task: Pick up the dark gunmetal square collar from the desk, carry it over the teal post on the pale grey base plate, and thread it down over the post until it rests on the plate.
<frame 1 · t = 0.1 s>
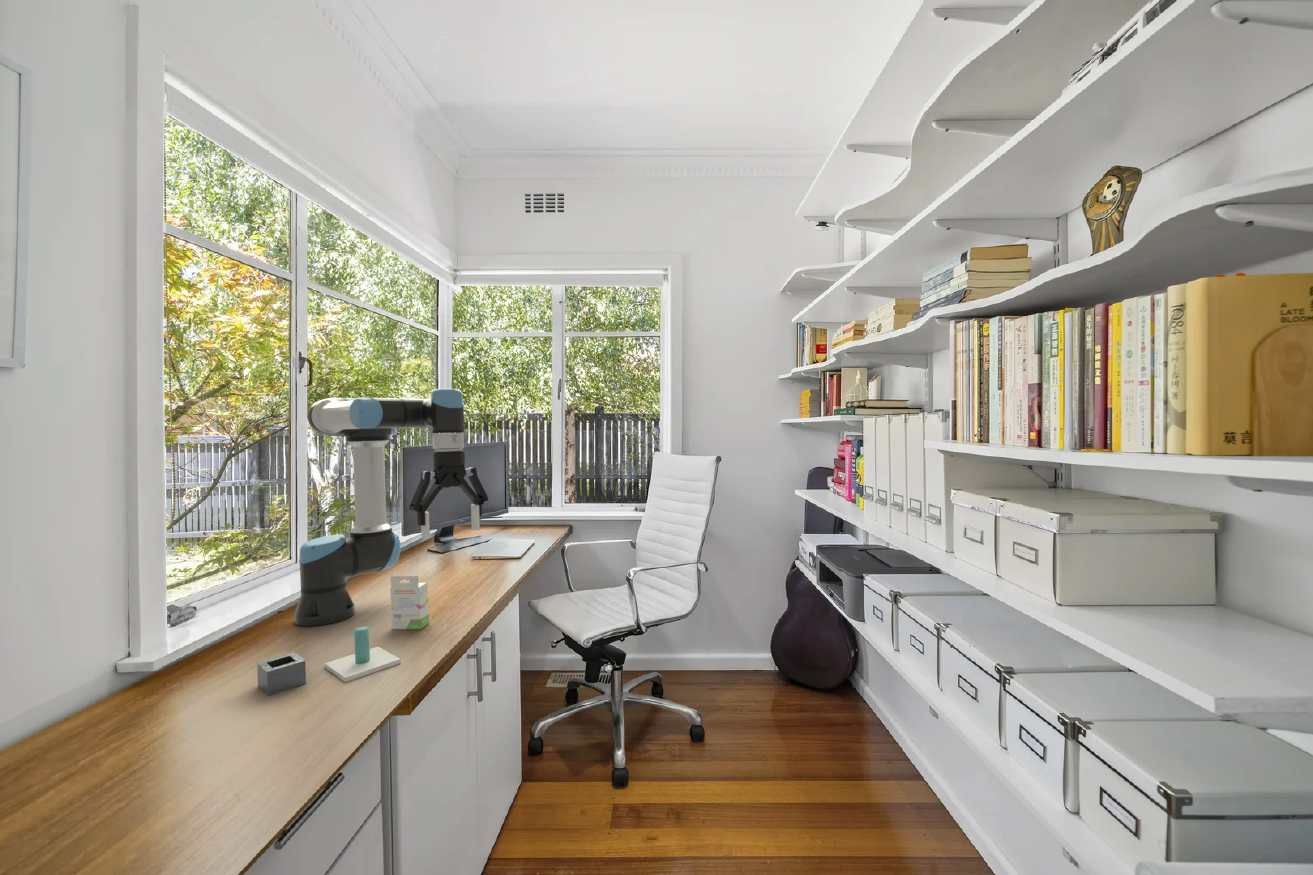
hand: (451, 533, 139), 28 cm above the table, fingers open, 13 cm apart
ink box: (410, 627, 152), on the table
collar: (282, 684, 119), on the table
post stand: (362, 665, 128), on the table
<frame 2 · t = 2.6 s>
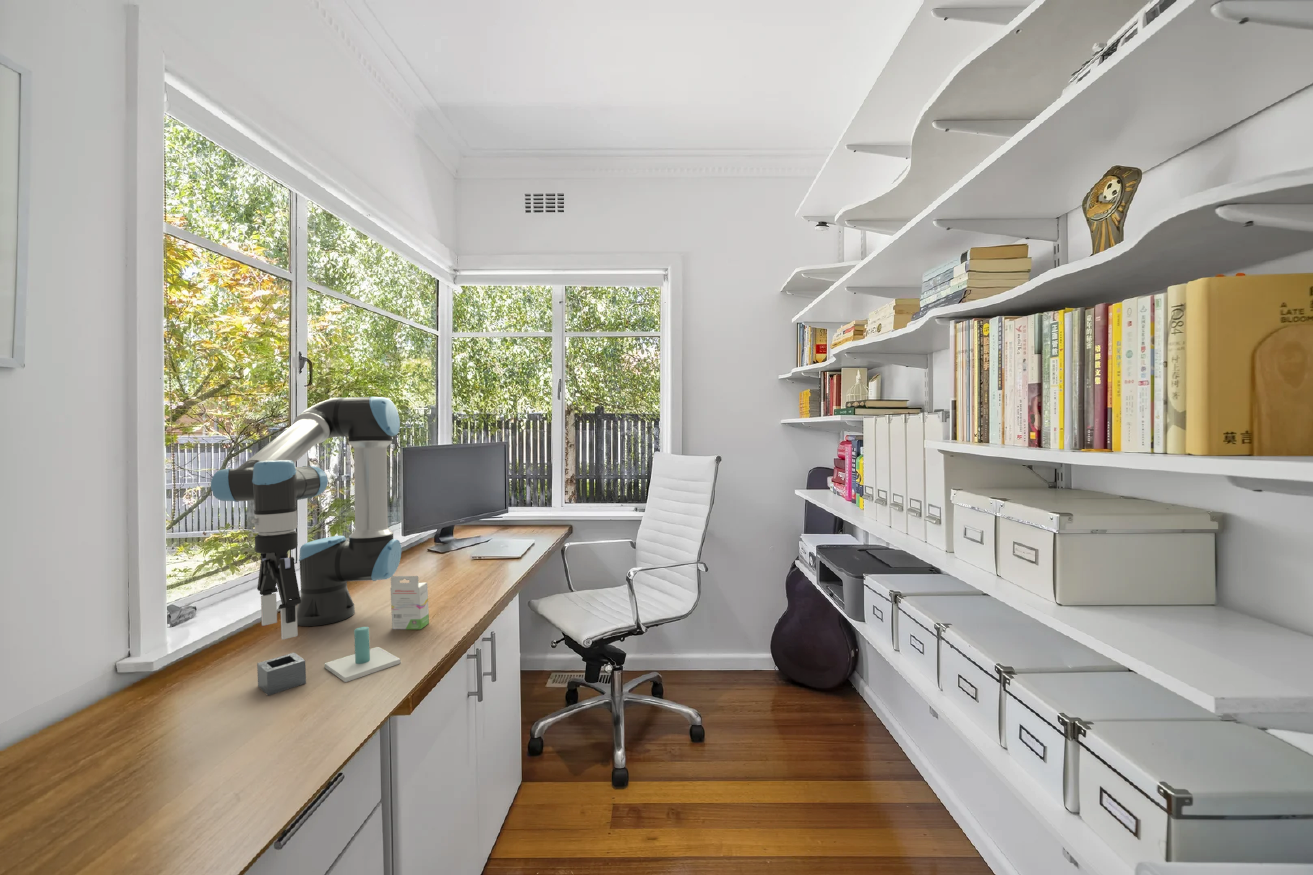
hand: (279, 630, 118), 12 cm above the table, fingers open, 13 cm apart
nothing on the table moved.
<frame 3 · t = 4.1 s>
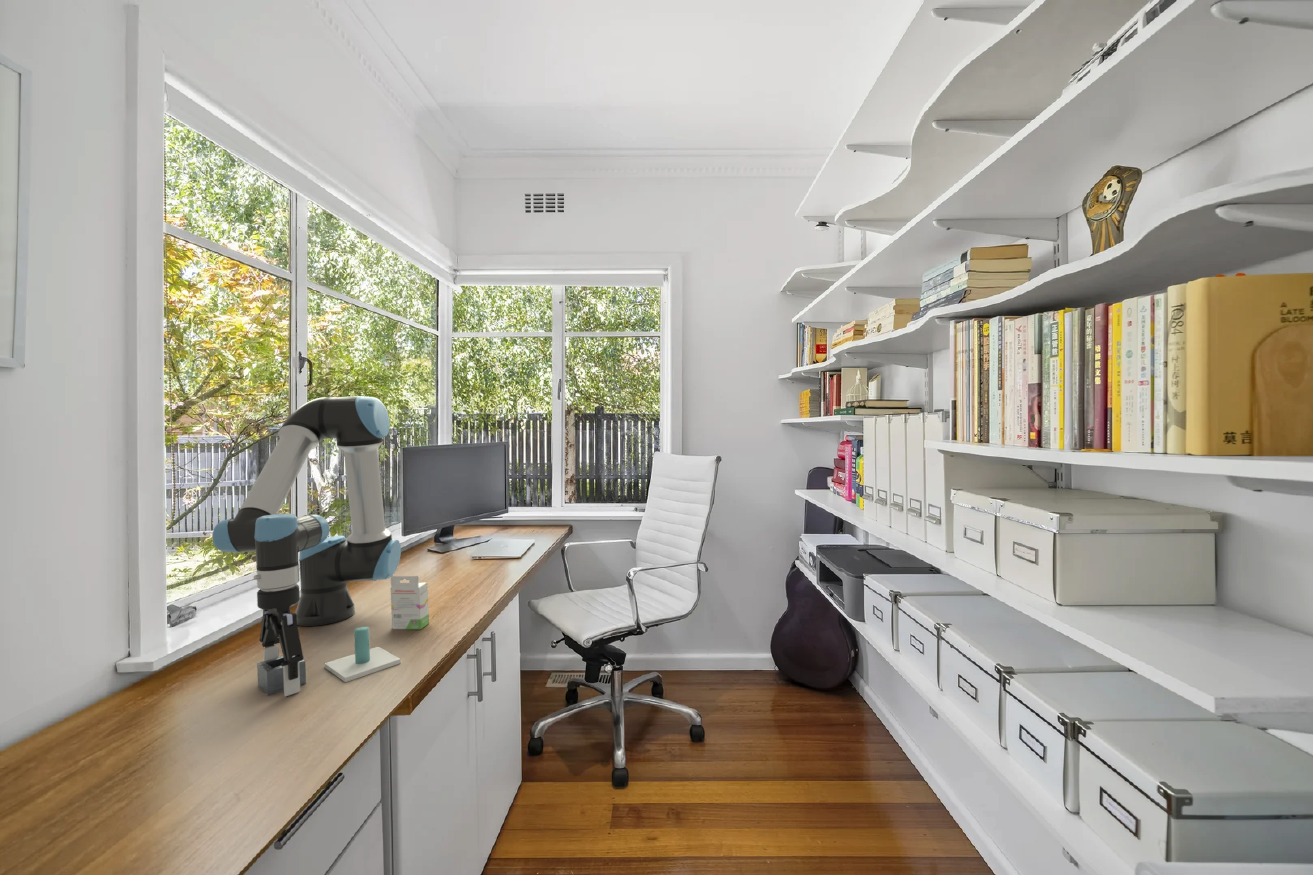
hand: (281, 684, 119), 0 cm above the table, fingers open, 13 cm apart
nothing on the table moved.
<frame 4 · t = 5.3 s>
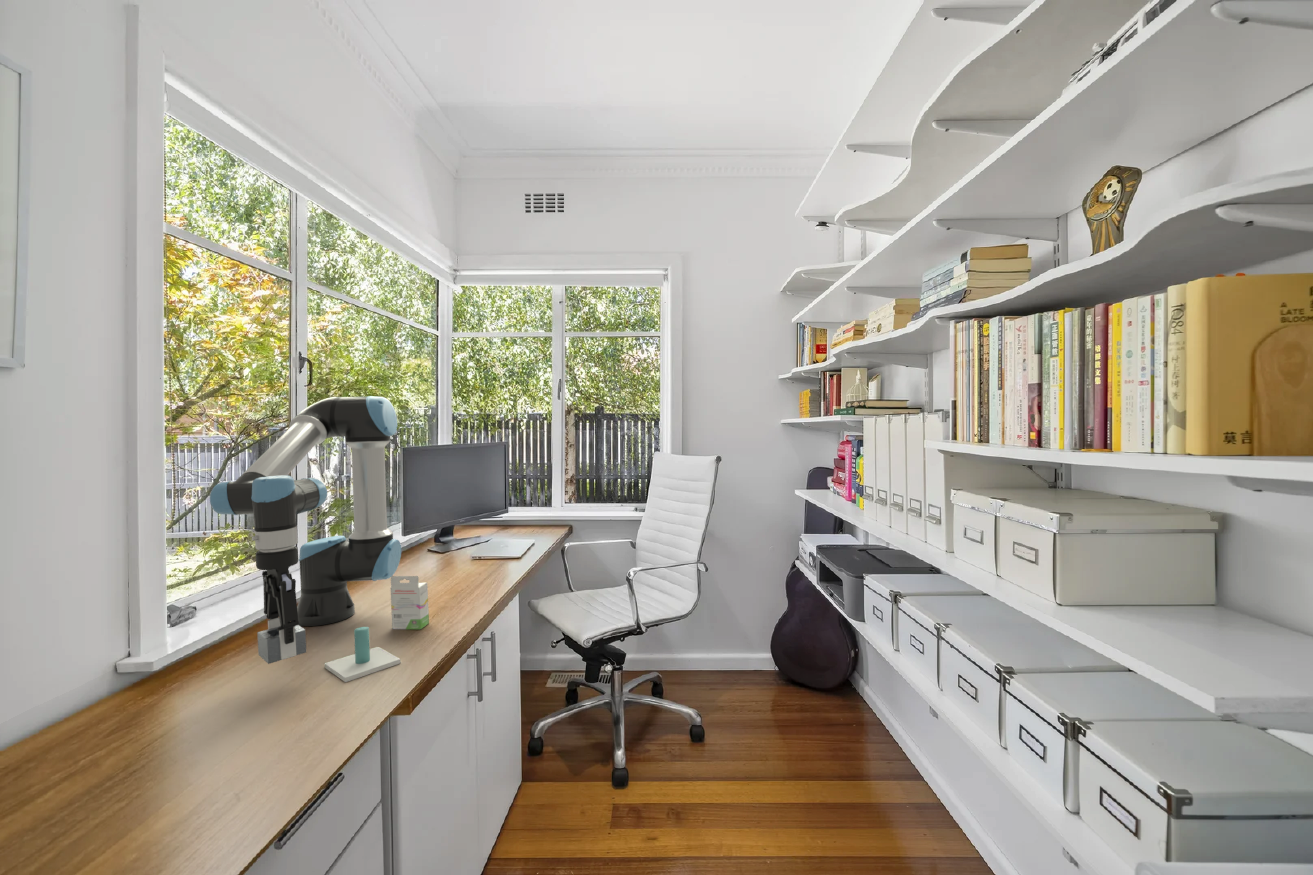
hand: (282, 652, 119), 7 cm above the table, fingers closed on collar, 7 cm apart
collar: (282, 653, 119), point 7 cm above the table, touching gripper
everything else where it was.
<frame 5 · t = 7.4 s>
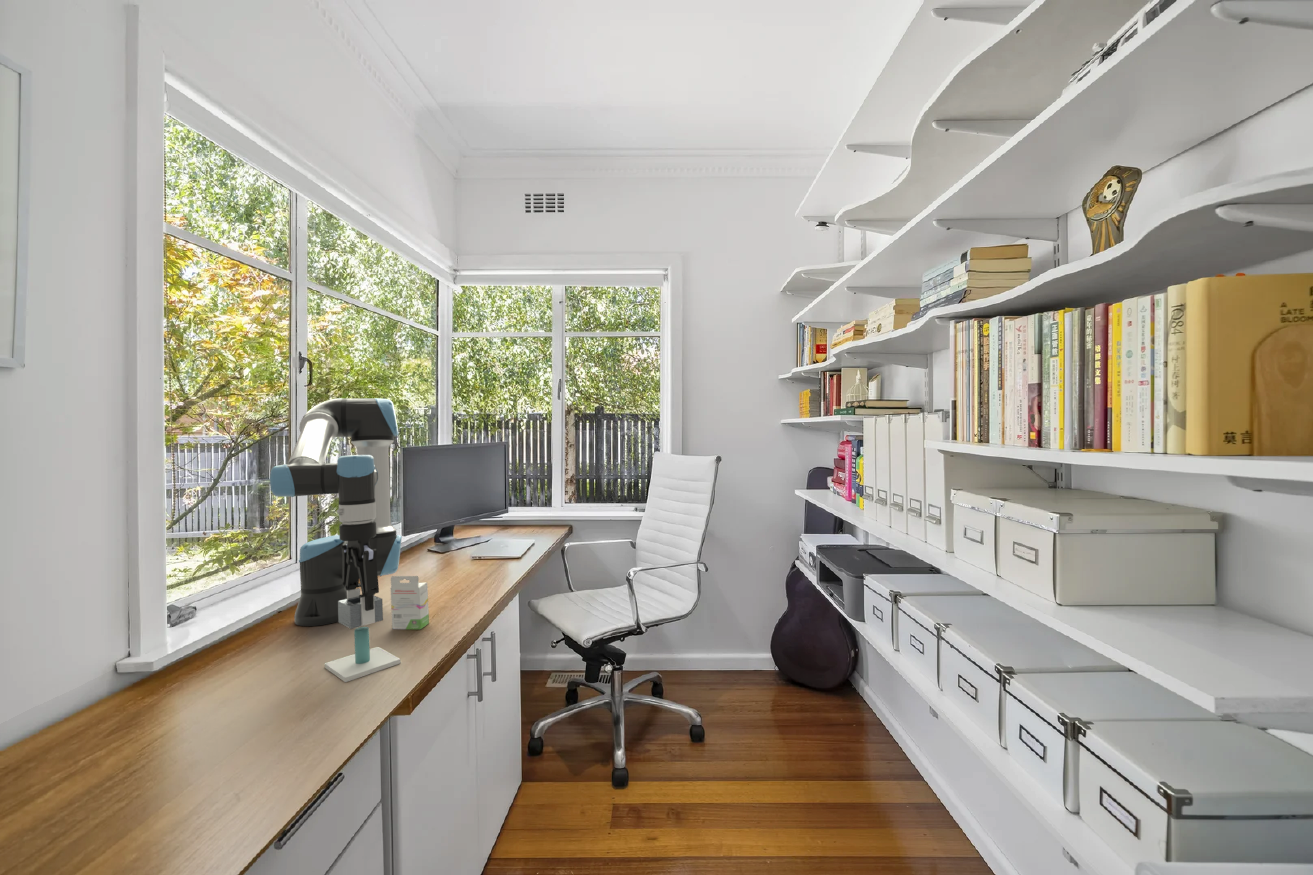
hand: (361, 620, 127), 11 cm above the table, fingers closed on collar, 7 cm apart
collar: (360, 621, 127), point 10 cm above the table, touching gripper
everything else where it was.
when the fingers open (2 cm above the table, at t = 9.5 s): collar stays where it is, resting on post stand.
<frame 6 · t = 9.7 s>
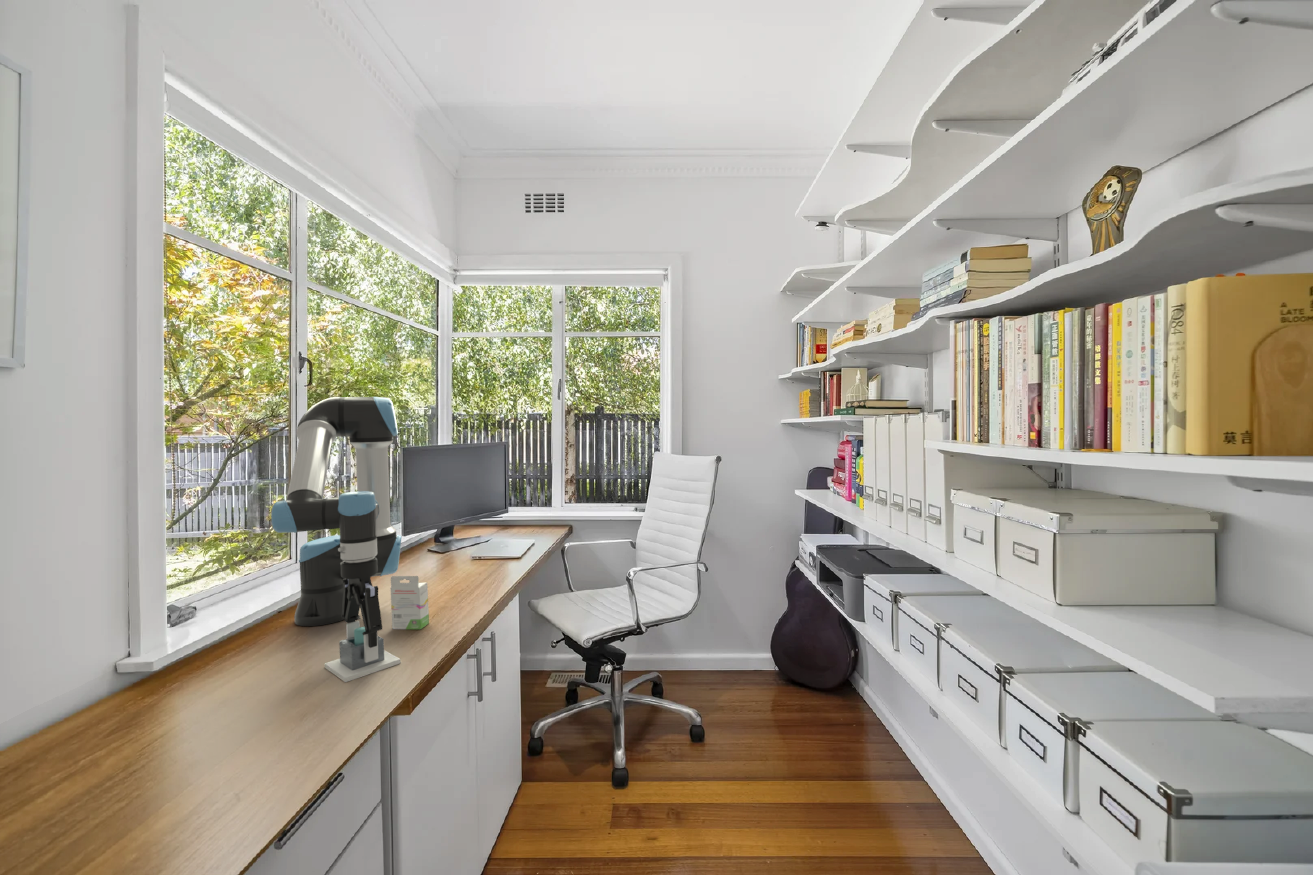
hand: (362, 654, 128), 3 cm above the table, fingers open, 9 cm apart
collar: (362, 661, 128), point 1 cm above the table, touching post stand
everything else where it was.
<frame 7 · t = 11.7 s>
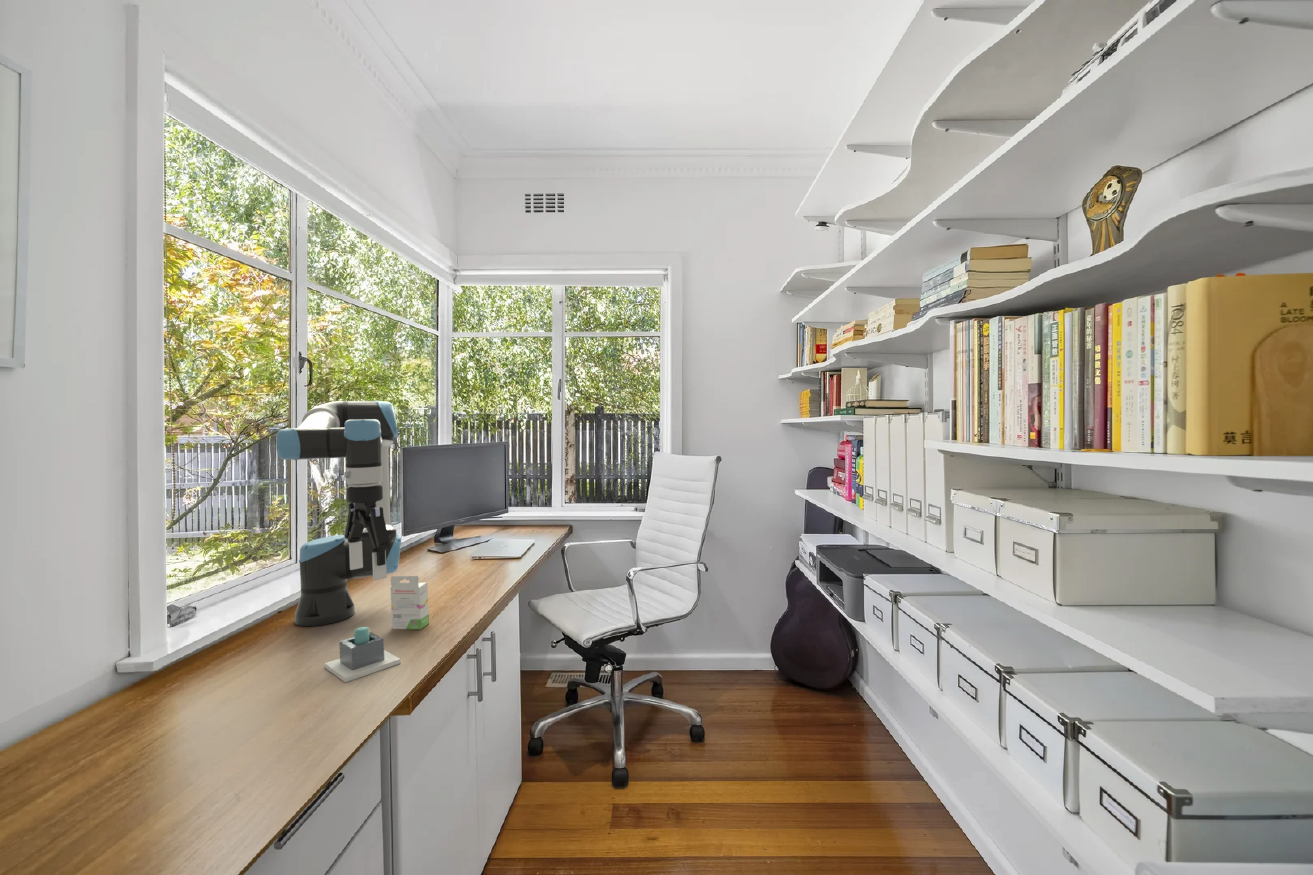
hand: (367, 573, 130), 21 cm above the table, fingers open, 13 cm apart
nothing on the table moved.
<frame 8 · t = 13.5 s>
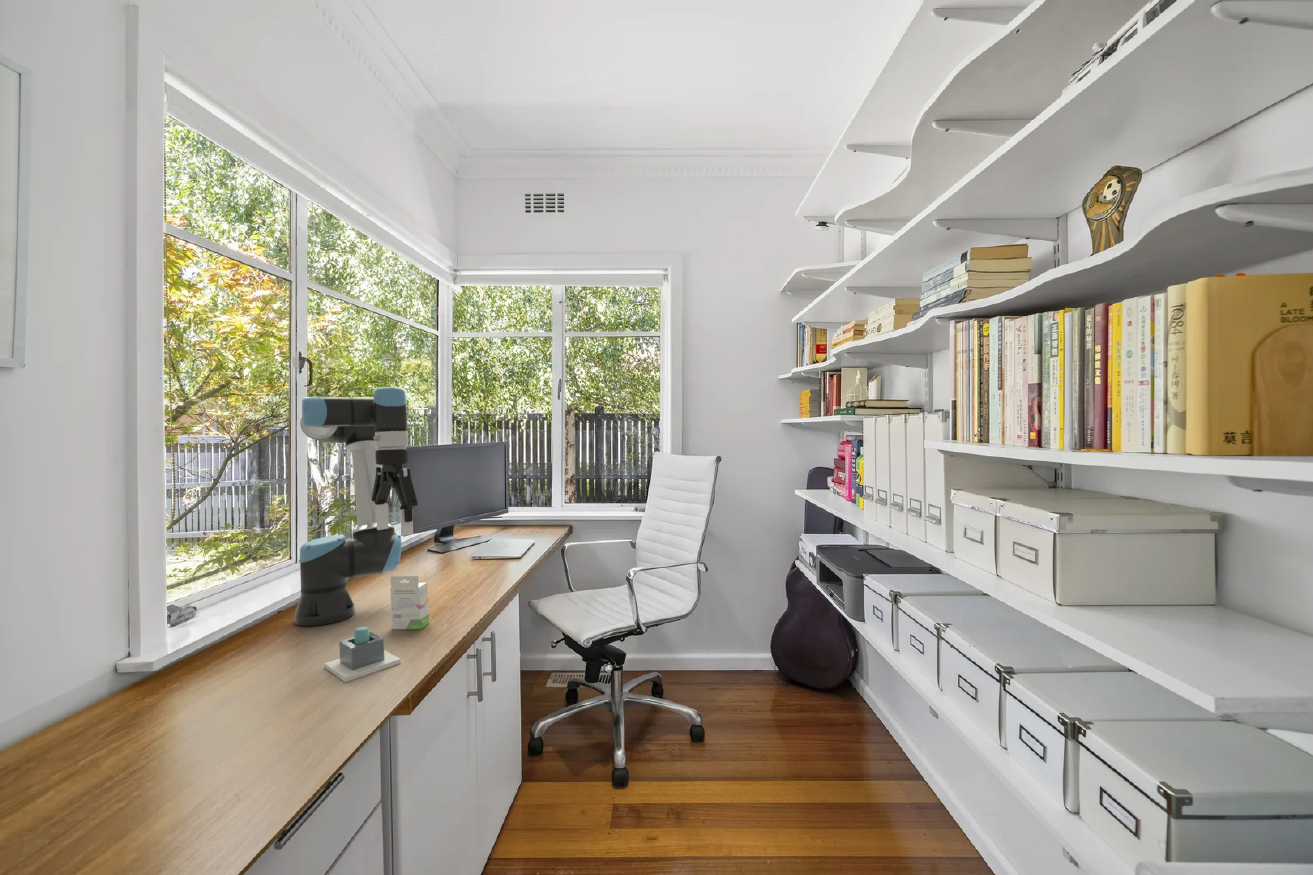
hand: (394, 532, 139), 29 cm above the table, fingers open, 13 cm apart
nothing on the table moved.
at the end: collar 0.1 cm off-centre on the post stand, point 1.0 cm above the post stand's base; the gripper is holding nothing; collar tilted 0° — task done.
